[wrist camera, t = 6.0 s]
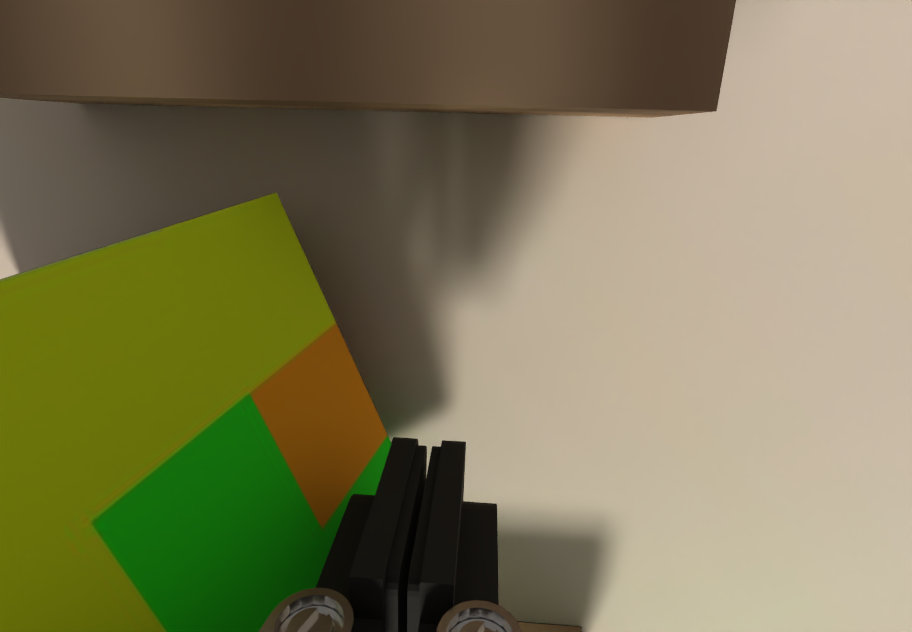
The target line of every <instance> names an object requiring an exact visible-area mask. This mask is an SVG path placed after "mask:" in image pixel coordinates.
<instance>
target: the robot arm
mask: <svg viewBox="0 0 912 632" xmlns="http://www.w3.org/2000/svg"><path fill="white" fill-rule="evenodd" d="M465 450H466V442H458V441H443V440H442V444H441V447H436V446H433V447H432V451H431V456H430V462H429V467H428V472H427V478H426V460H427V447H426V446H420V445H418V439H411V438H396V437H394V438H393V440H392V443H391V447H390V450H389V453H388V456H387V459H386V462H385V465H384V469H383V472H382V475H381V478H380V481H379V484H378V487H377V490H376V494H375V495H362V494H353V495H352V496H351V498H350V500H349V502H348V504H347V507H346V510H345V512H344V515H343V517H342V520H341V523H340V525H339V528H338V530H337V533H336V536H335V538H334V541H333V543H332V546H331V549H330V551H329V554H328V556H327V559H326V562H325V564H324V567H323V569H322V572H321V575H320V577H319V580H318V582H317V585H316V588H311V589H305V590H302V591H299V592H297V593H295V594H292V595H290V596H289V597H287V598H286V599H285V600H283V601H282V602H280V603H279V604H278V605H277V606H276V608H275V609H274V610H273V611H272V612H271V614H270V615H269V616H268V618H267V620H266V621H265V623H264V624H263V626H262V627H261V629H260V631H259V632H522V630H521V628H520V625H519V623H518V622H517V621H516V619H515V618H514V617H513V616H512V614H511V613H510V612H508V611H507V610H505V609H504V608H502V607H501V606H500V605H498V545H497V504H491V503H476V502H463V492H464V471H465Z"/></svg>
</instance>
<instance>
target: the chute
mask: <svg viewBox="0 0 912 632" xmlns="http://www.w3.org/2000/svg"><path fill="white" fill-rule="evenodd" d="M735 3H736V0H0V98H13V99H27V100H41V101H55V102H69V103H95V104H135V105H175V106H215V107H256V108H296V109H336V110H376V111H416V112H456V113H496V114H536V115H576V116H617V117H661V116H672V115H682V114H692V113H702V112H712V111H716V110H717V104H718V99H719V93H720V87H721V82H722V76H723V71H724V65H725V59H726V54H727V48H728V42H729V37H730V31H731V25H732V20H733V14H734V8H735ZM518 623H519V625H520V628H521V630H522V632H582V630H581V627H573V626H561V625H548V624H536V623H523V622H518Z"/></svg>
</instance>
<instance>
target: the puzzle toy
mask: <svg viewBox="0 0 912 632" xmlns="http://www.w3.org/2000/svg"><path fill="white" fill-rule="evenodd" d="M390 447H391V441H390V439H389V437H388V435H387V432H386V430H385V428H384V426H383V424H382V422H381V419H380V417H379V415H378V413H377V411H376V408H375V406H374V404H373V402H372V400H371V398H370V395H369V393H368V391H367V389H366V387H365V384H364V382H363V380H362V378H361V376H360V374H359V371H358V369H357V367H356V365H355V363H354V360H353V358H352V356H351V354H350V352H349V349H348V347H347V345H346V343H345V341H344V339H343V336H342V334H341V332H340V330H339V328H338V325H337V323H336V321H335V319H334V317H333V315H332V312H331V310H330V308H329V306H328V304H327V301H326V299H325V297H324V295H323V293H322V291H321V288H320V286H319V284H318V282H317V280H316V277H315V275H314V273H313V271H312V269H311V267H310V264H309V262H308V260H307V258H306V256H305V253H304V251H303V249H302V247H301V245H300V242H299V240H298V238H297V236H296V234H295V232H294V229H293V227H292V225H291V223H290V221H289V218H288V216H287V214H286V212H285V210H284V208H283V205H282V203H281V201H280V199H279V197H278V194H277V192H276V193H273V194H270V195H267V196H263V197H260V198H257V199H254V200H251V201H247V202H244V203H241V204H238V205H235V206H232V207H228V208H225V209H222V210H219V211H216V212H213V213H209V214H206V215H203V216H200V217H197V218H194V219H190V220H187V221H184V222H181V223H178V224H175V225H171V226H168V227H165V228H162V229H159V230H156V231H152V232H149V233H146V234H143V235H140V236H137V237H133V238H130V239H127V240H124V241H121V242H117V243H114V244H111V245H108V246H105V247H102V248H98V249H95V250H92V251H89V252H86V253H83V254H79V255H76V256H73V257H70V258H67V259H64V260H60V261H57V262H54V263H51V264H48V265H45V266H41V267H38V268H35V269H32V270H29V271H26V272H22V273H19V274H16V275H13V276H10V277H7V278H3V279H0V632H259V631H260V629H261V627H262V626H263V624H264V623H265V621H266V620H267V618H268V616H269V615H270V614H271V612H272V611H273V610H274V609H275V608H276V606H277V605H278V604H279V603H280V602H282V601H283V600H285V599H286V598H287V597H289V596H290V595H292V594H295V593H297V592H299V591H302V590H305V589H311V588H316V585H317V582H318V580H319V577H320V575H321V572H322V569H323V567H324V564H325V562H326V559H327V556H328V554H329V551H330V549H331V546H332V543H333V541H334V538H335V536H336V533H337V530H338V528H339V525H340V523H341V520H342V517H343V515H344V512H345V510H346V507H347V504H348V502H349V500H350V498H351V496H352V495H353V494H362V495H375V494H376V490H377V487H378V484H379V481H380V478H381V475H382V472H383V469H384V465H385V462H386V459H387V456H388V453H389V450H390Z"/></svg>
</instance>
